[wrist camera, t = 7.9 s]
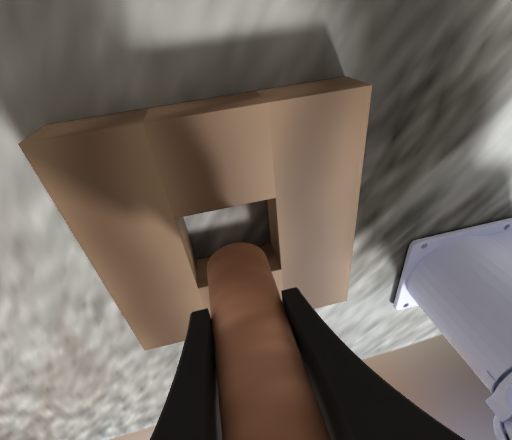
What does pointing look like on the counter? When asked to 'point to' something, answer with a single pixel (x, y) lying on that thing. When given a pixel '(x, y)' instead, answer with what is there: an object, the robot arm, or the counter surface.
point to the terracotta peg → (257, 353)
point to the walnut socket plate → (210, 192)
